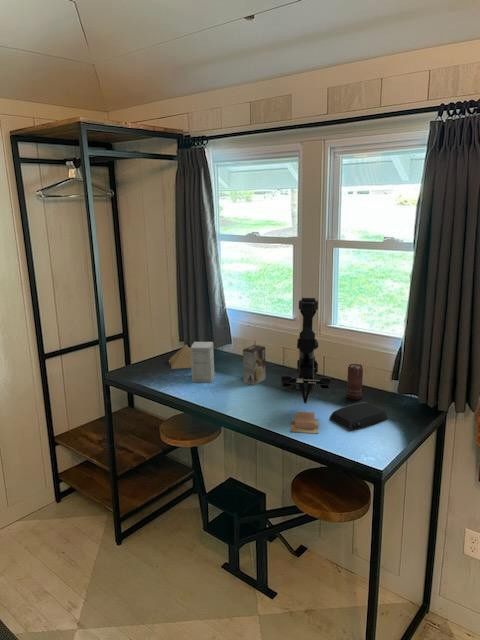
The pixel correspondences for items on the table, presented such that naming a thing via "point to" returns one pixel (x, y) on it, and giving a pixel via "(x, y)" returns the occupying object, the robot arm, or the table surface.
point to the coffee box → (254, 364)
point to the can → (354, 381)
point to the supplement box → (202, 361)
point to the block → (305, 420)
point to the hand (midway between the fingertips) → (305, 403)
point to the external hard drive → (358, 416)
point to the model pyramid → (181, 358)
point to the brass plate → (304, 430)
